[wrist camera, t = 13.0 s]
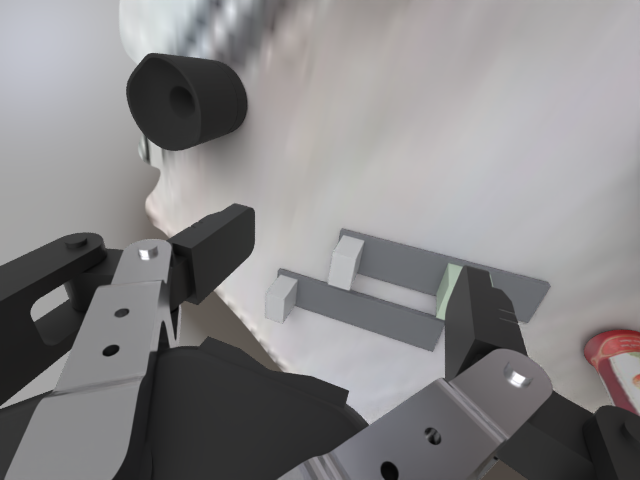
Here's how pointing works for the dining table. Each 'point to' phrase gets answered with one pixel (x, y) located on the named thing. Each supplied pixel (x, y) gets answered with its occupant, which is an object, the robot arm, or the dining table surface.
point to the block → (447, 289)
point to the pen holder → (185, 100)
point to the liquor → (618, 366)
